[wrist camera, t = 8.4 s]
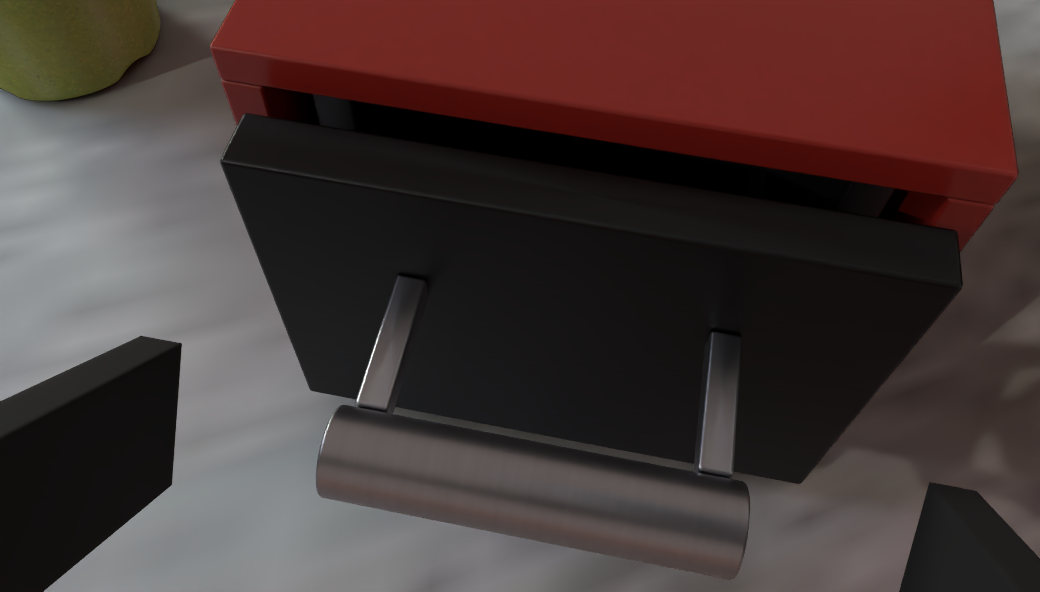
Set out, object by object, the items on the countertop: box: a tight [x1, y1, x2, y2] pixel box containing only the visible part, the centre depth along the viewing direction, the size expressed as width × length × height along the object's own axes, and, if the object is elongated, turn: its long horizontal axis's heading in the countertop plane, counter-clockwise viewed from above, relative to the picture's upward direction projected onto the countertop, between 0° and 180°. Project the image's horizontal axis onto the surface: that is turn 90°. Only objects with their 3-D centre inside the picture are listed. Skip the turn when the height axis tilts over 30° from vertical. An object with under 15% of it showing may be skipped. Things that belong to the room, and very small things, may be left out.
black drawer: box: [220, 94, 963, 580], centre depth 21 cm, size 19×12×9 cm, turn 169°
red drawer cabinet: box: [210, 0, 1018, 251], centre depth 23 cm, size 16×14×11 cm
